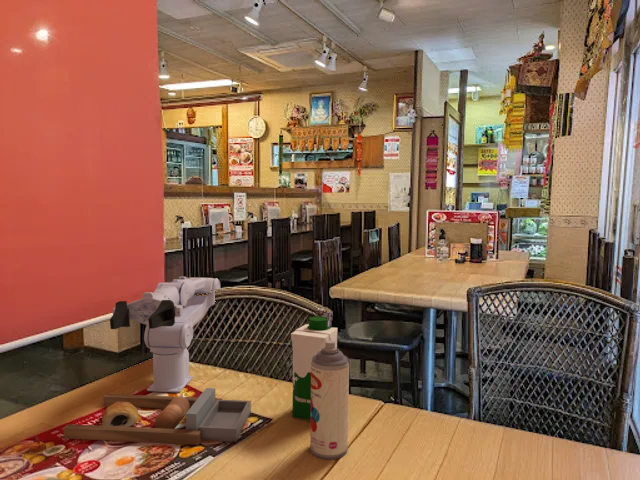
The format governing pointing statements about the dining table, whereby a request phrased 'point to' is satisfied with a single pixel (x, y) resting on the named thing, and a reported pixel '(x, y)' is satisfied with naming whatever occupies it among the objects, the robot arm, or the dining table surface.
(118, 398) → the rail
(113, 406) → the pastry
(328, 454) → the aerosol can
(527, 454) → the dining table surface
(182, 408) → the roller
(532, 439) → the dining table surface
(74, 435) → the rail
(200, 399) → the block
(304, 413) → the milk carton
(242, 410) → the cradle
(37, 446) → the round teapot
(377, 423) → the dining table surface
